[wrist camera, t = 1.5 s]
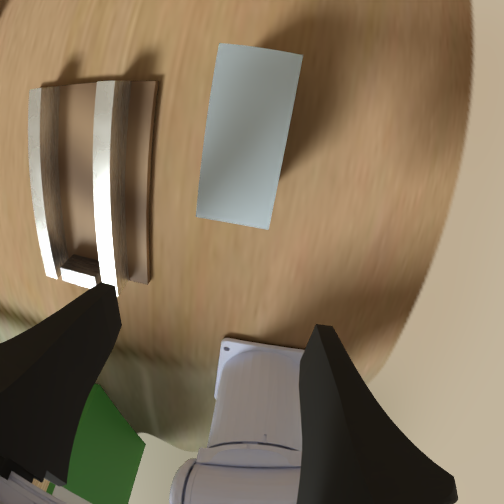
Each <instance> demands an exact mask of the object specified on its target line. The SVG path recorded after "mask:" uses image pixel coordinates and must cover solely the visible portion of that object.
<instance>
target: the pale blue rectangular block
mask: <svg viewBox="0 0 504 504" xmlns="http://www.w3.org/2000/svg"><path fill="white" fill-rule="evenodd" d="M302 59H303V55H300V54H295V53H290V52H284V51H279V50H273V49H266V48H259V47H252V46H244V45H234V44H223V43H219V47H218V53H217V58H216V64H215V70H214V76H213V82H212V88H211V95H210V101H209V108H208V115H207V122H206V130H205V137H204V145H203V153H202V162H201V170H200V180H199V189H198V199H197V210H196V217H200V218H206V219H211V220H217V221H223V222H228V223H234V224H240V225H245V226H251V227H256V228H262V229H267V230H269V225H270V220H271V215H272V210H273V205H274V201H275V196H276V191H277V186H278V181H279V176H280V171H281V166H282V161H283V156H284V151H285V146H286V141H287V136H288V131H289V126H290V121H291V116H292V111H293V106H294V100H295V95H296V90H297V85H298V80H299V74H300V69H301V64H302Z"/></svg>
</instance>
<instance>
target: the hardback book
mask: <svg viewBox="0 0 504 504" xmlns="http://www.w3.org/2000/svg"><path fill="white" fill-rule="evenodd" d="M145 445H146V444H145V443H144V442H143V441H142V439H141V438H140V437H139V436H138V435H137V433H136V432H135V431H134V430H133V429H132V427H131V426H130V425H129V424H128V422H127V421H126V420H125V419H124V417H123V416H122V415H121V413H120V412H119V411H118V410H117V408H116V407H115V406H114V404H113V403H112V401H111V400H110V399H109V397H108V396H107V394H106V393H105V392H104V390H103V389H102V387H101V386H100V385H98V384H94V386H93V388H92V389H91V391H90V394H89V396H88V398H87V401H86V403H85V406H84V409H83V412H82V415H81V418H80V421H79V424H78V428H77V432H76V435H75V439H74V443H73V448H72V452H71V457H70V463H69V470H68V477H67V484H66V485H64V486H57V485H55V484H53V483H51V482H50V481H48V480H46V479H44V480H43V482H42V483H41V482H39V481H38V480H36V479H33V482H32V484H34V485H35V486H37V487H39V488H40V489H42V490H44V491H45V492H47V493H49V494H51V495H53V496H54V497H56V498H58V499H60V500H62V501H64V502H66V503H68V504H128V502H129V498H130V495H131V491H132V488H133V484H134V481H135V477H136V474H137V471H138V467H139V464H140V461H141V458H142V454H143V451H144V448H145Z"/></svg>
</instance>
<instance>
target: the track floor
mask: <svg viewBox="0 0 504 504" xmlns="http://www.w3.org/2000/svg"><path fill="white" fill-rule="evenodd" d="M158 84H159V81H132V84H131V93H130V102H129V113H128V126H127V142H126V167H125V218H126V243H127V259H128V272H129V280H130V281H134V282H139V283H143V284H147V285H148V283H149V282H150V263H149V198H150V172H151V155H152V141H153V129H154V119H155V109H156V100H157V92H158ZM96 86H97V82H96V83H83V84H73V85H64V86H61V88H60V101H59V122H58V159H59V181H60V195H61V206H62V215H63V223H64V231H65V238H66V244H67V251H68V256H69V258H70V257H71V256H72V255H73V254H75V255H79V256H83V257H87V258H91V259H95V260H99V255H98V246H97V237H96V226H95V212H94V194H93V127H94V110H95V97H96Z"/></svg>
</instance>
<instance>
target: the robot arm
mask: <svg viewBox="0 0 504 504" xmlns="http://www.w3.org/2000/svg"><path fill="white" fill-rule="evenodd" d="M121 326H122V324H121V319H120V313H119V307H118V301H117V294H116V287H115V285H111V284H107V283H104V282H100V283H99V284H97V285H95V286H94V287H92V288H91V289H89V290H88V291H86V292H85V293H84V294H82V295H81V296H79V297H78V298H76V299H75V300H73V301H72V302H70V303H69V304H68V305H66V306H65V307H63V308H62V309H60V310H59V311H57V312H56V313H54V314H53V315H51V316H49V317H48V318H46V319H45V320H43V321H42V322H40V323H39V324H37V325H35V326H34V327H32V328H30V329H28V330H27V331H25V332H23V333H21V334H19V335H17V336H15V337H14V338H12V339H10V340H7V341H5V342H3V343H0V504H68V503H66V502H64V501H62V500H60V499H58V498H56V497H54V496H53V495H51V494H49V493H47V492H45V491H44V490H42V489H40V488H39V487H37V486H35V485H34V484H32V482H33V479H36V480H38V481H39V482H41V483H42V482H43V480H44V479H46V480H48V481H50V482H51V483H53V484H55V485H57V486H64V485H66V484H67V477H68V470H69V463H70V457H71V452H72V448H73V443H74V439H75V435H76V432H77V428H78V424H79V421H80V418H81V415H82V412H83V409H84V406H85V403H86V401H87V398H88V396H89V394H90V391H91V389H92V388H93V386H94V384H95V382H96V380H97V378H98V376H99V374H100V372H101V370H102V368H103V366H104V364H105V362H106V361H107V359H108V357H109V355H110V353H111V351H112V349H113V347H114V344H115V342H116V339H117V337H118V334H119V331H120V329H121ZM227 347H229V348H227ZM214 398H215V399H216V403H215V408H214V414H213V419H212V424H211V429H210V434H209V439H208V444H207V448H199V451H198V455H197V459H196V458H191V459H188V460H187V461H186V462H185V463H184V464H183V465H182V466H181V467H180V468H179V469H178V470H177V472H176V474H175V476H174V478H173V481H172V485H171V489H170V498H169V499H170V500H169V504H454V503H455V502H456V501H457V500H458V495H457V490H456V484H455V480H454V477H453V476H452V475H451V474H449V473H448V472H447V471H445V470H444V469H442V468H441V467H440V466H438V465H437V464H436V463H434V462H433V461H432V460H431V459H429V458H428V457H427V456H426V455H425V454H424V453H423V452H421V451H420V450H419V449H418V448H417V447H416V446H415V445H414V444H413V443H412V442H411V441H410V440H409V439H408V438H407V437H406V436H405V435H404V434H403V433H402V432H401V430H400V429H399V428H398V427H397V426H396V425H395V424H394V423H393V421H392V420H391V419H390V418H389V416H388V415H387V414H386V412H385V411H384V410H383V409H382V407H381V406H380V405H379V403H378V402H377V401H376V399H375V398H374V396H373V395H372V393H371V392H370V390H369V389H368V387H367V386H366V384H365V382H364V381H363V379H362V378H361V376H360V374H359V373H358V371H357V369H356V368H355V366H354V364H353V362H352V361H351V359H350V357H349V355H348V354H347V352H346V350H345V348H344V346H343V344H342V343H341V341H340V339H339V337H338V335H337V333H336V332H335V330H334V328H333V327H332V326H326V325H318V324H316V325H315V328H314V330H313V332H312V335H311V337H310V339H309V342H308V344H307V346H306V348H305V350H302V349H294V348H287V347H280V346H274V345H267V344H261V343H255V342H249V341H243V340H237V339H232V338H224V339H222V342H221V348H220V356H219V363H218V370H217V378H216V385H215V393H214Z"/></svg>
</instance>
